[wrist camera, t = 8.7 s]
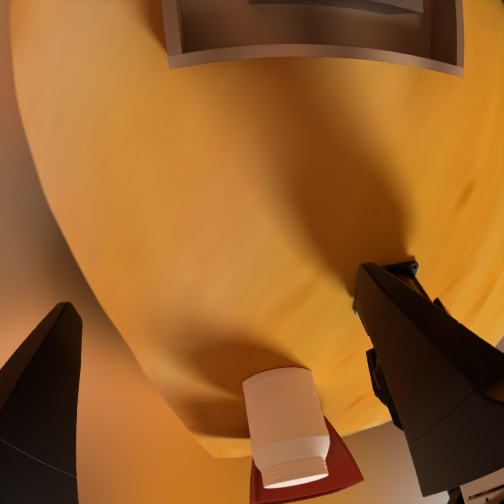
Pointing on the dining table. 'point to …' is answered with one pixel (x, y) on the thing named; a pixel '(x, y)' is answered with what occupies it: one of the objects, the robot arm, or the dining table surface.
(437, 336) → the robot arm
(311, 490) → the plant pot
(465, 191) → the dining table surface
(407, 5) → the block
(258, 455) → the jar
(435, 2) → the brown tray
